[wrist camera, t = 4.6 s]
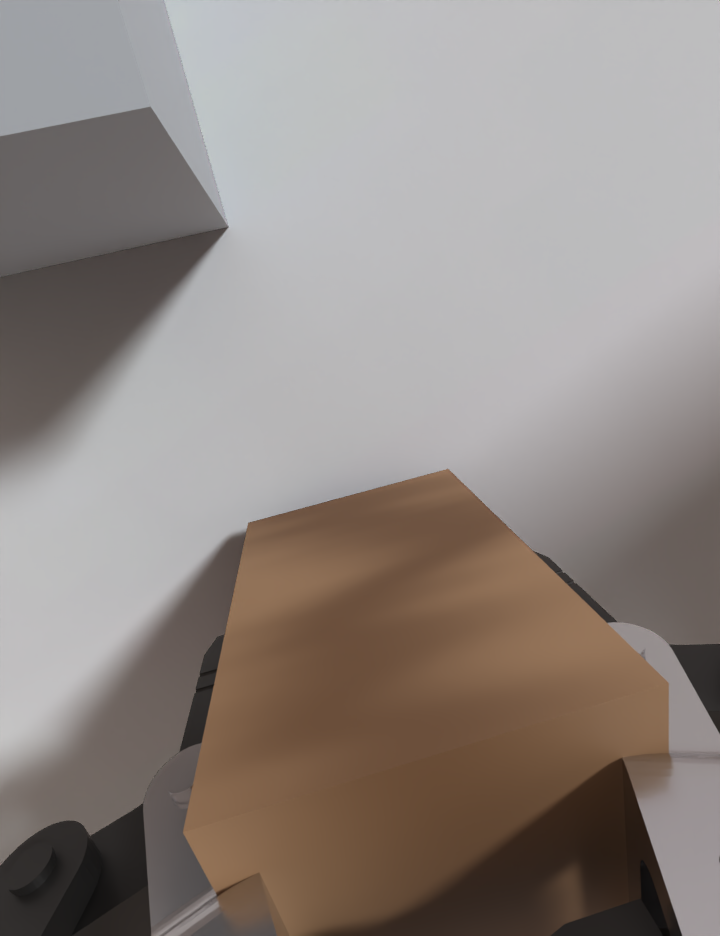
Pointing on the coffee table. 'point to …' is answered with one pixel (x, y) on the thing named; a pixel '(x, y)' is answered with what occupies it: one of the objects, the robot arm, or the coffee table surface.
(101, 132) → the grey block
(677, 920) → the robot arm
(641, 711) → the walnut block
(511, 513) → the coffee table surface
